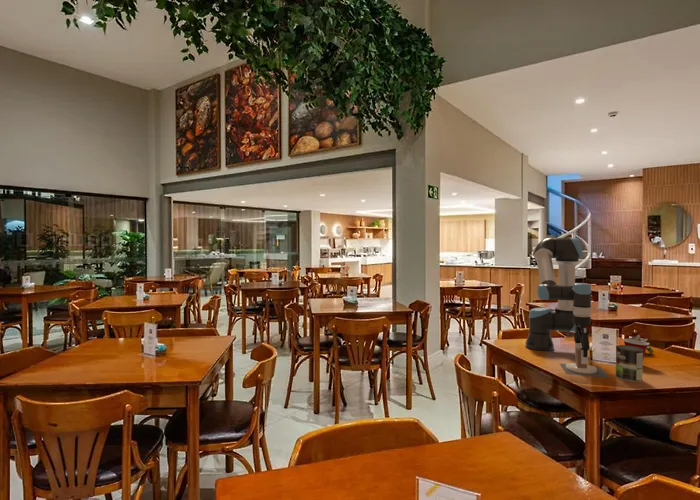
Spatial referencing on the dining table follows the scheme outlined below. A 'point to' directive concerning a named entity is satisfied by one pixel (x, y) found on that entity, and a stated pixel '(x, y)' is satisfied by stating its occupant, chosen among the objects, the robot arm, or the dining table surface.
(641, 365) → the coffee can
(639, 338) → the passion flower
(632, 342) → the plastic cup
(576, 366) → the lid
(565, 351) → the dining table surface
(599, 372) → the mat
